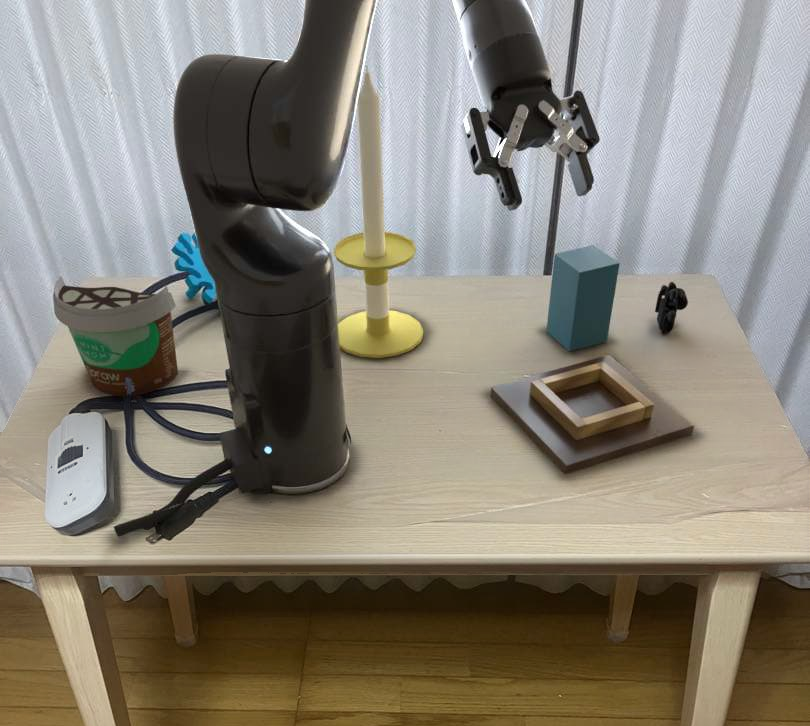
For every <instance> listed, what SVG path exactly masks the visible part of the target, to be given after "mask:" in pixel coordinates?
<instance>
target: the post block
mask: <svg viewBox="0 0 810 726" xmlns="http://www.w3.org/2000/svg"><path fill="white" fill-rule="evenodd" d="M620 265H621V264H620V262H619V261H617V260H616V259H615V258H613V257H612V256H611V255H609V254H607V253H606V252H604V251H603V250H601V249H600V248H599V247H597V246H596V245H595V244H591V245H587V246H583V247H578V248H574V249H570V250H565V251H560V252H557V253H554V256H553V267H552V275H551V282H550V283H551V284H550V294H549V304H548V312H547V321H546V330H545V331H546V333H548V334H549V335H550V336H551V337H552V338H553V339H554V340H556V341H557V342H558V343H559V344H560V345H561V346H563V348H565V349H566V350H567V351H569V352H573V351H576V350H580V349H584V348H587V347H591V346H595V345H600V344H602V343H606V342H608V338H609V331H610V325H611V320H612V313H613V308H614V307H613V306H614V301H615V296H616V295H615V294H616V290H617V289H616V288H617V283H618V277H619V269H620Z"/></svg>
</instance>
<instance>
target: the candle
mask: <svg viewBox="0 0 810 726" xmlns="http://www.w3.org/2000/svg"><path fill="white" fill-rule="evenodd" d="M365 69H366V71H365V72H364V76H363V82H362V84H361V85H362V86H361V88H360V91H359V96H358V102H357V107H356V112H357V128H358V129H357V130H358V131H357V132H358V148H359V149H358V150H359V151H358V152H359V169H360V170H359V171H360V188H361V190H360V191H361V207H362V209H361V210H362V226H363V227H362V228H363V232H358V233H355V234H351V235H349V236H346V237H344V238H343V239H341V240H339V241H338V242H337V243H336V244H335V247H333V254H334V256H335V260H336V261H337V262H338V263H340V264H341V265H343V266H345V267H346V268H349V269H354V270H357V271H363V282H364V300H365V311H360V312H357V313H355V314H351V315H349V316H346V317H345V318H344V319H342V320H340V322H338V328H339V341H340V350H342V351H344V352H345V353H348V354H351V355H354V356H357V357H361V358H369V359H370V358H372V359H373V358H374V359H382V358H390V357H396V356H400V355H402V354H404V353H405V354H406V353H408V352H410V351H412V350H413V349H415V347H417V346H418V345H419V344H420V343H421V342H422V340H423V336H424V329H423V327H422V325H421V323H420V321H419V320H417V319H416V318H415V317H413V316H411V315H409V314H407V313H403V312H400V311H396V310H390V301H389V297H390V296H389V272H388V271H389V270H392V269H396V268H398V267H402V266H405V265H406V264H407V263H409V262H410V261H412V260H413V259H414V257H415V254H416V251H417V247H416V245H415V244H414V241H413V240H411V239H410V238H408V237H406V236H405V235H403V234H399V233H395V232H391V231H389V232H388V231H385V209H384V207H385V206H384V180H383V179H384V178H383V174H384V173H383V152H382V151H383V148H382V146H383V145H382V119H381V118H382V117H381V116H382V115H381V96H380V93H379V92H377V90H376V88H375V87H374V84H373V80H372V78H371V72H369V66H368V65H367V64H366V65H365Z"/></svg>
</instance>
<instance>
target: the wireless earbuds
mask: <svg viewBox="0 0 810 726" xmlns="http://www.w3.org/2000/svg"><path fill="white" fill-rule="evenodd" d="M688 303H689V300H688V297H687V294H686V291H685V290H684V288H681V287H677V285H676V283H675V282H674V281H670V282H669V283H668V286H667V284H663V285H661V287H660V290H659V292H658V295H657V299H656V303H655V309H654V313H656V314H657V316H656V322H657V325H658V329H659V331H660V334H661V335H662V336H665V335H666V334H669V333H670V332H672V330H673V329H674V325H675V322H676V318H677V312H678V311H683V310H685V309H686V308H687V307H688Z"/></svg>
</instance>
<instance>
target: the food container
mask: <svg viewBox="0 0 810 726" xmlns="http://www.w3.org/2000/svg"><path fill="white" fill-rule="evenodd" d="M52 301H53V311H54V315H55V318H56V319H57V320H58V321H59V322H60V323H61V324H63V325H64V326H67V328H68V330H69V333H70V335H71V337H72V340H73V343H74V345H75V347H76V349H77V351H78V354H79V356H80V358H81V361H82V363H83V365H84V368H85V370H86V372H87V375H88V377H89V380H90V381H91V384H92V386H93V387H94V388H95V389H96V390H97V391H99V392H100V393H103V394H106V395H109V396H116V397H132V396H133V397H134V396H140V395H144V394H148V393H152V392H155V391H156V390H159V389H161V388H163V387H165V386H167V385H168V384H170V383H172V382H173V380H175V379H176V378H177V376H178V375H179V370H178V361H177V353H176V345H175V336H174V327H173V319H172V311H173V310H174V309H176V307H177V305H176V302H175V300H174V297H173V295H172V292H170V291H169V288H168V286H165V287H164V288H162V289H161V290H160V291H159V292H157V293H147V292H139V291H135V290H130V289H126V288H121V287H117V286H101V287H99V286H98V287H82V286H71V285H66V283H65V280H64V279H63V276H60V277H59V278H57V280H56V282H55V283H54V287H53V293H52ZM126 377H130V378H131V379H132V381H133V383H134V385H135V387H134V388H135V391H134V392H132V393H131V395H130V394H127V389H126V388H125V387H126V383H125V378H126Z"/></svg>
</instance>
